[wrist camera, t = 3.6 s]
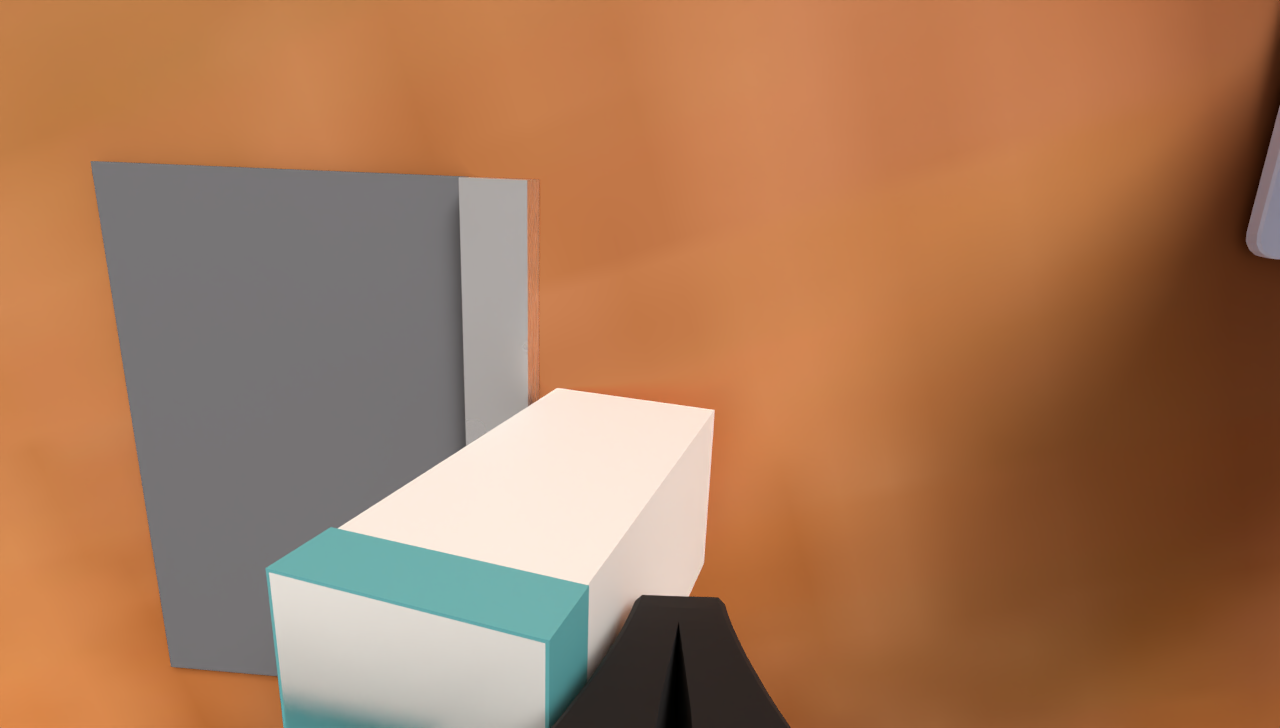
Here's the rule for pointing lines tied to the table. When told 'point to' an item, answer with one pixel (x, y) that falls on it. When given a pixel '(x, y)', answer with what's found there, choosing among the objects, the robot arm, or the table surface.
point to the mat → (276, 369)
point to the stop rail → (499, 299)
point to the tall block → (495, 570)
